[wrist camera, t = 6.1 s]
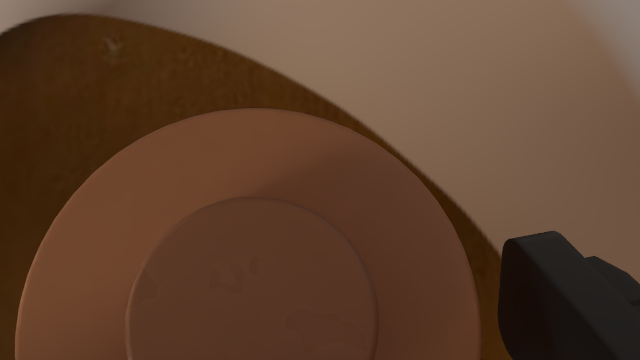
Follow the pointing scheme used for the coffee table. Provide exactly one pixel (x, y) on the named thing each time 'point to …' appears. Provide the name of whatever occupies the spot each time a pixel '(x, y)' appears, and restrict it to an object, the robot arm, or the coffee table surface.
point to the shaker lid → (250, 252)
